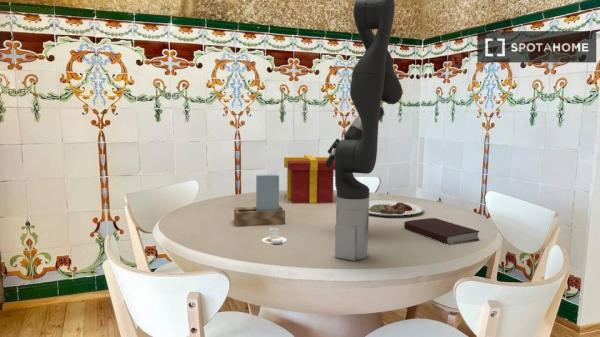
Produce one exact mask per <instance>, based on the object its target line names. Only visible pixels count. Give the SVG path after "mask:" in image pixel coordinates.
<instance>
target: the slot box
mask: <svg viewBox="0 0 600 337" xmlns="http://www.w3.org/2000/svg"><path fill="white" fill-rule="evenodd" d="M283 208H284V207H282V205H279V210H277V211H256V206H243V207H242V206H239V207H238V206H237V207H234V208H233V221H234V225H235V227H249V226H250V227H251V226H252V227H253V226H255V227H256V226H271V225H272V226H273V225H274V226H275V225H286V210H284V209H283Z"/></svg>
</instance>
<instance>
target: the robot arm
mask: <svg viewBox="0 0 600 337" xmlns="http://www.w3.org/2000/svg"><path fill="white" fill-rule="evenodd" d="M395 7H396V6H395V0H356V1H355V2H354V5H353V18H354V24H355V26H356V30H357V32H358V34H359V37H360V40H361V43H362V45H363V46H364V49H365V52H364V53H363V55H362V56H361V57H360V58H359V60H358V61H357V62H356V64H355V66H354V68H353V69H352V73H351V79H350V87H349V97H350V99H351V102H352V103H353V106H354V109H355V110H356V112H357V114H358V115H357V116H356V117H355V118H354V119H353V121H352V123H351V124H350V126H349V127H348V129H347V130H346V132H345V133H344V134H343V137H344V138H343V139H342V140H340V139H339V138H336V139H335V140H334V142H333V143H332V144H331V146H330V147H329V148H328V150H327V153H328V154H329V156H328V157H329V158H328V159H327V161H326V162H325V166H327V167H328V168H330V166H331V165H332V163H333V162H334V160H335V170H334V180H335V182H334V185H335V188H336V205H335V206H336V210H335V211H336V212H335V213H336V215H335V219H336V221H335V222H336V223H335V224H336V225H335V227H334V228H335V231H334V232H335V233H334V234H335V236H334V238H335V240H334V257H335V258H337V259H342V260H348V261H354V262H355V261H357V260H364V259H366V258H367V257H368V251H369V222H370V221H369V220H370V219H369V217H370V214H369V200H370V188H369V186H368V185H366V184H364V183H362V182H361V181H359V180H358V179H357V178H355V176H354V175H355V174H364V175H369V174H370V173H372V172H373V171H374V169H375V166H376V163H377V157H378V156H377V155H378V143H379V142H378V141H379V123H380V121H381V120H382V117H383V116H384V114H385V110H384V108H383V106H381V104H382V102H384V103H386V104H389V105H394V104H397V103H398V102H400V100H401V98H402V97H403V96H402V95H403V87H402V84H401V82H400V80H399V77H398V75H397V74H396V72H395V69H394V63H393V57H392V54H391V53H390V51H389V44H390V39H391V34H392V30H393V25H394V18H395V9H396V8H395ZM373 30H376V32H375V33H376V34H375V33H374V32H373Z"/></svg>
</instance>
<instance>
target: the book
mask: <svg viewBox="0 0 600 337" xmlns="http://www.w3.org/2000/svg"><path fill="white" fill-rule="evenodd" d="M403 226H404V229H406V230H407V229H408V231H410V232H412V233H415V232H416V234H418V233H419V234H418V235H421V236H423V235H424V237H426V236H427V237H426V238H428V237H430V238H429V239H431V238H432V239H431V240H434V239H435V240H434V241H436V240H438V241H437V242H439V241H440V242H439V243H441V242H442V244H444V243H445V244H444V245H446V244H448V245H452V244H451V243H455V244H460V243H461V242H463V243H469V242H474V240H475V241H478V240H480V238H479V233H480V231H479V230H477V229H474V228H470V227H467V226H463V225H459V224H456V223H452V222H450V221H447V220H443V219H440V218H436V217H429V218H427V217H426V218H419V219H412V220H411V219H410V220H407V221H404V223H403ZM468 241H469V242H468ZM461 244H462V243H461Z"/></svg>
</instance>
